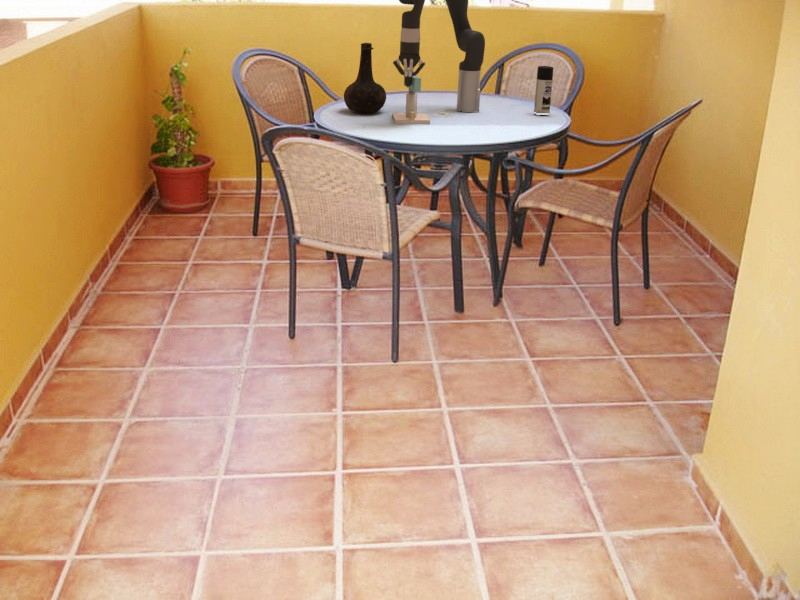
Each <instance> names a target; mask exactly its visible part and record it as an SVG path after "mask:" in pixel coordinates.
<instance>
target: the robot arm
mask: <svg viewBox="0 0 800 600" xmlns="http://www.w3.org/2000/svg"><path fill="white" fill-rule="evenodd" d="M398 1H399V2H400V4H403V5H408V6H413V7H412V9H410V10H407V11H404V12H402V15H401V30H400V39H399V42H400V44H399V55H398V58H397V59H395V60H393V62H392V63H393V65H394V66H395V69H396V70H397V71H398V72H399V74H400V75H401V76H403V77H404V76H405V85H406V86H408V87H410V86H411V85H412V79H413V76H415V75H416V76H417V75H418V74H419V73H420V71H421V70H422V69H423V68H424V67H425V66H426V62H425V61H423V60H422V59H421V55H420V49H421V47H420V44H421V15H422V12H423V8H424V5H425V2H426V0H398ZM445 3H446V6H447V9H448V12H449V16H450V19H451V23H452V25H453V26H452V27H453V31H454V37H455V41H456V44H457V46H458V48H459V49H460V51H461V52H463V53H465V54H464V55H465V56H464V60H463V61H460V62H459V65H458V80H457V94H456V95H457V97H456V99H457V100H456V111H457V110H458V112H461V111H462V112H461V113H475V112H474V111H479V112H480V101H481V100H480V99H481V89H480V87H481V86H480V85H481V84H480V83H481V72H482V71H481V69H482V65H483V62H484V57H485V48H486V37H485V36H484V34H483V33H482V32H481V31H478V30H473V29H472V27H471V24H470V21H469V18H468V8H469V0H445ZM401 65H402V66H403V67H402V66H401ZM417 65H418V67H417V68H416V70H415V67H416V66H417ZM406 86H405V87H406ZM408 87H407V88H408Z"/></svg>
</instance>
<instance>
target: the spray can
mask: <svg viewBox="0 0 800 600" xmlns="http://www.w3.org/2000/svg"><path fill="white" fill-rule="evenodd" d="M553 78H554V67H553V66H549V65H540V66H538V65H537V73H536V82H535V83H536V84H535V92H534V93H535V94H534V105H533V107H534V108H533V113H534V112H536V113H549V114H550V113H551V110H550V109H551V101H552V89H553V80H554V79H553Z"/></svg>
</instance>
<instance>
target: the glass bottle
mask: <svg viewBox="0 0 800 600" xmlns="http://www.w3.org/2000/svg"><path fill="white" fill-rule="evenodd" d="M372 44H373V43H370V42H363V43H361V44H360V56H359V67H358V73H357V76H356V79H355V80H354V82H352V83H351V84H349V85H348V86H347V87H346V88H345V90H344V92H343V101H344V104H345V105H346V108H347V109H349V110H350V111H351V112H353V113H356V114H360V115H361V114H362V115H363V114H364V115H369V114H371V113H372V114H376V113H378V112H379V111H381V110H382V108H383V107H384V106H385V103H386V102H387V101H386V100H387V92H386V90H385V87H383V85H381V84H380V83H378V82H375V80H374V76H373V75H374V74H373V62H372V59H373V58H372V57H373V56H372V50H374V47H372Z"/></svg>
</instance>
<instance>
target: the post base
mask: <svg viewBox="0 0 800 600" xmlns="http://www.w3.org/2000/svg"><path fill="white" fill-rule="evenodd" d="M405 96H406V97H405V112H392V114H391V117H392V120H393V119H394V120H393V121H394V124H396V125H402V124H403V125H431V119H430V117H429V116H428V114H427V113H424V112H423V113H422V112H421V113H418V112H417V111H418V108H417V107H418V93H415V94H409V92H407V93H406V94H405Z"/></svg>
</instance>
